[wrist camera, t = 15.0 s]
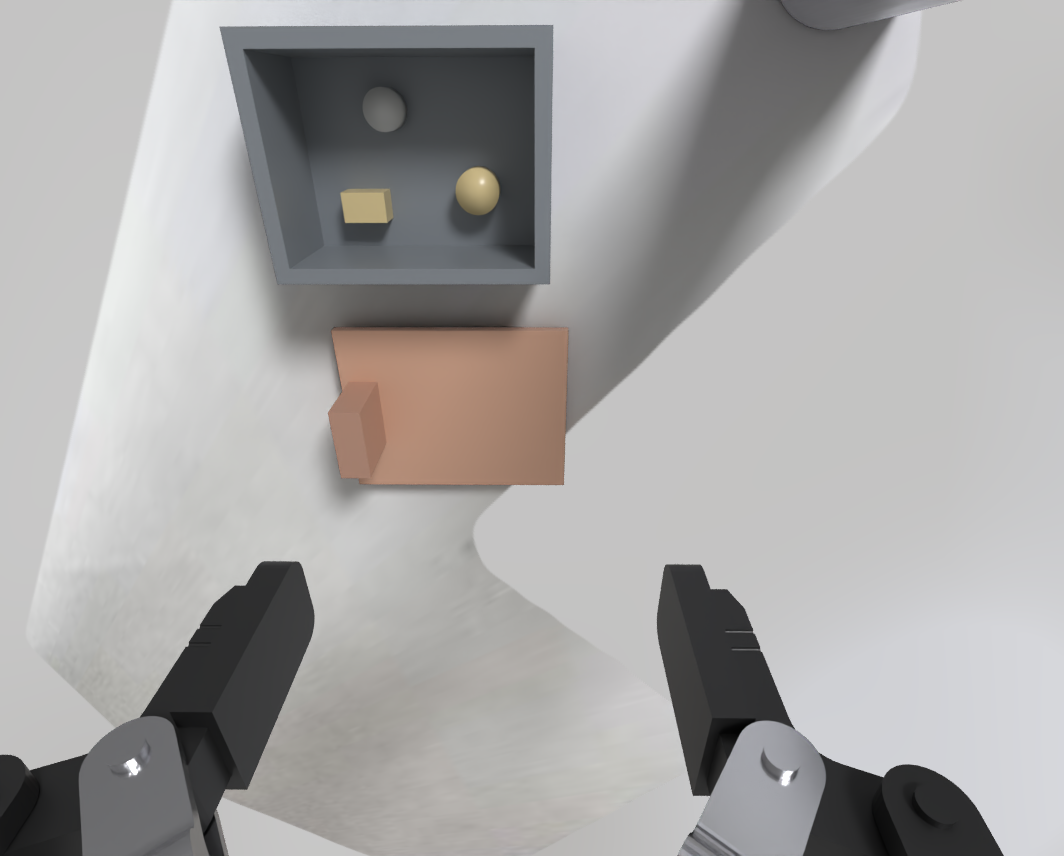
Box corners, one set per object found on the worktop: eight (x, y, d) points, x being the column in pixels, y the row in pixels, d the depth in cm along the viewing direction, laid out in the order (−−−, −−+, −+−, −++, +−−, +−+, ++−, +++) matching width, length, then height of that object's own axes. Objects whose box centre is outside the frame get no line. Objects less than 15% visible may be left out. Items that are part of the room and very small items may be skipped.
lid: (567, 321, 48) (571, 357, 41) (562, 471, 55) (566, 523, 48) (339, 321, 48) (306, 357, 41) (366, 470, 55) (342, 521, 48)
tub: (550, 39, 38) (553, 24, 31) (548, 255, 45) (549, 284, 38) (278, 40, 38) (219, 26, 31) (318, 255, 45) (277, 284, 38)
